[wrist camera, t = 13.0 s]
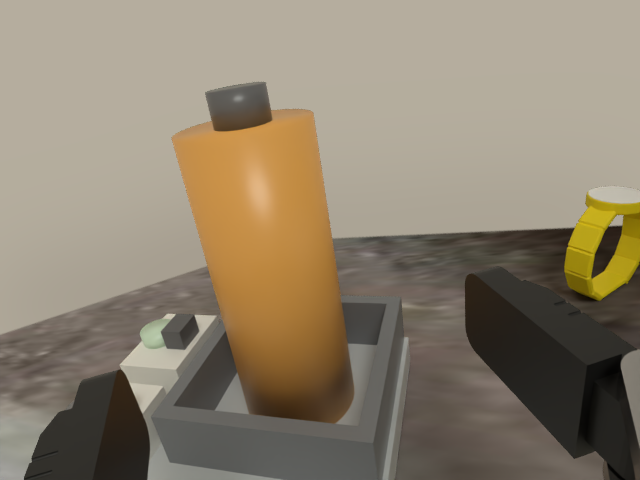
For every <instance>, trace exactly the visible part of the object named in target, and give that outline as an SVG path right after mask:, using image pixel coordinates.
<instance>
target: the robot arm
mask: <svg viewBox="0 0 640 480" xmlns="http://www.w3.org/2000/svg"><path fill="white" fill-rule="evenodd" d="M465 326H466V333H467V337H468V339H469V342H470V344H471V346H472V348H473V349H474V351H475V352H476V353H477V354H478V355H479V356H480V357H481V359H482V360H483V361H484V362H485V363H486V364H487V365H488V366H489V367H490V368H491V369H492V370H493V371H494V373H495V374H496V375H497V376H498V377H499V378H500V379H501V380H502V381H503V382H504V383H505V384H506V386H507V387H508V388H509V389H510V390H511V391H512V392H513V393H514V394H515V395H516V396H517V397H518V398H519V400H520V401H521V402H522V403H523V404H524V405H525V406H526V407H527V408H528V409H529V410H530V411H531V413H532V414H533V415H534V416H535V417H536V418H537V419H538V420H539V421H540V422H541V423H542V424H543V425H544V427H545V428H546V429H547V430H548V431H549V432H550V433H551V434H552V435H553V436H554V437H555V438H556V440H557V441H558V442H559V443H560V444H561V445H562V446H563V447H564V448H565V449H566V450H567V451H568V452H569V454H570V455H571V456H572V457H573V458H574V459H575V458H578V457H581V456H584V455H586V454H589V453H592V452H594V451H596V452H597V453H598V454H599V455H600V456H601V457H602V458H603V459H604V462H603V478H604V480H640V349H639V350H637V349H636V348H634V347H633V346H631V345H630V344H629V343H627V342H626V341H624V340H623V339H621V338H620V337H618V336H617V335H615V334H614V333H612V332H611V331H610V330H608V329H607V328H605V327H604V326H602V325H601V324H599V323H598V322H596V321H595V320H593V319H592V318H590V317H589V316H588V315H586V314H585V313H582V314H581V312H580V310H579V309H577V308H576V307H574V306H573V305H571V304H570V303H566V302H565V300H564V299H563V298H561V297H560V296H558V295H557V294H555V293H554V292H552V291H551V290H550V289H548V288H546V287H543V286H540V285H537V284H534V283H532V282H529V281H526V280H524V281H520V280H519V279H518V278H516V277H515V276H513V275H512V274H511V273H509V272H508V271H506V270H505V269H504V268H502V267H499V266H497V267H493V268H489V269H486V270H482V271H478V272H475V273H471V274H469V275H467V277H466V280H465ZM149 457H150V439H149V433H148V428H147V424H146V421H145V419H144V417H143V414H142V412H141V410H140V407H139V405H138V402H137V400H136V398H135V395H134V393H133V391H132V388H131V386H130V384H129V381H128V379H127V377H126V375H125V373H124V372H123V371H122V370H116V371H113V372H109V373H105V374H102V375H98V376H95V377H91V378H87V379H84V380H82V381H81V383H80V385H79V388H78V391H77V395H76V398H75V401H74V404H73V407H72V408H71V409H68V410H64V411H61V412H59V413H58V414H57V415H56V416H55V417H54V419H53V420H52V421H51V422H50V424H49V425H48V426H47V427H46V429H45V430H44V431H43V432H42V434H41V435H40V437H39V440H38V442H37V445H36V448H35V450H34V453H33V456H32V458H31V459H32V463H29V466H28V469H27V471H26V474H25V476H24V480H147V478H148V467H149Z"/></svg>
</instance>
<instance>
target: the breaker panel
mask: <svg viewBox="0 0 640 480" xmlns="http://www.w3.org/2000/svg"><path fill="white" fill-rule="evenodd" d="M341 301H342V308H343V315H344V321H345V328H346V335H347V341H348V348H349V355H350V362H351V368H352V375H353V382H354V399H353V401H352V404H351V406H350V408H349V410H348V411H347V412H346V414H345V415H344V416H343V417H342V418H341V419H340V420H339V421H338V422H336V423H335V424H333V423H324V422H315V421H306V420H297V419H288V418H278V417H269V416H260V415H251V414H249V412H248V408H247V404H246V401H245V397H244V394H243V390H242V387H241V383H240V380H239V376H238V372H237V369H236V365H235V362H234V358H233V355H232V351H231V348H230V344H229V341H228V337H227V333H226V330H225V326H224V323H223V319H222V320H221V322H220V323H219V321H218V318H217V316H208V315H193V314H166V315H165V317H164V318H163V319H159V320H155V321H153V322H151V323H149V324H147V325H146V326H144V327H143V328H142V330H141V332H140V336H141V339H142V341H141V343H140V344H139V345H138V346H137V347H136V348H135V349H134V350H133V351H132V352H131V353H130V354H129V356H128V357H127V358H126V359H125V360H124V361H123V362H122V363H121V364H120V367H121V369H122V371H123V372H124V373H125V375H126V377H127V379H128V381H129V384H130V386H131V388H132V391H133V393H134V395H135V398H136V400H137V402H138V405H139V407H140V410H141V412H142V414H143V417H144V419H145V421H146V424H147V428H148V433H149V439H150V457H149V467H148V478H147V480H395V475H396V468H397V460H398V452H399V445H400V437H401V429H402V421H403V414H404V406H405V398H406V391H407V383H408V375H409V368H410V350H409V338H404V328H403V316H402V304H401V297H387V296H344V295H341ZM74 401H75V400H74ZM74 401H73V402H72V403H71V404H70V405H69V406H68V407H67V408H66V410H68V409H71V408H72V407H73V404H74Z"/></svg>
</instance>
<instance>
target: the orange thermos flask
mask: <svg viewBox="0 0 640 480" xmlns="http://www.w3.org/2000/svg"><path fill="white" fill-rule="evenodd" d="M205 95H206V99H207V103H208V107H209V111H210V115H211V120H212V121H210V122H206V123H203V124H199V125H196V126H193V127H190V128H187V129H185V130H183V131H180V132H178V133H176V134H175V135H174V136H173V137H172V141H173V145H174V149H175V152H176V156H177V159H178V163H179V166H180V170H181V173H182V177H183V181H184V184H185V188H186V191H187V195H188V198H189V202H190V206H191V209H192V213H193V216H194V220H195V223H196V227H197V230H198V234H199V238H200V241H201V245H202V248H203V252H204V255H205V259H206V262H207V266H208V269H209V273H210V277H211V280H212V284H213V287H214V291H215V294H216V298H217V301H218V305H219V309H220V312H221V316H222V319H223V323H224V326H225V330H226V333H227V337H228V341H229V344H230V348H231V351H232V355H233V358H234V362H235V365H236V369H237V372H238V376H239V380H240V383H241V387H242V390H243V394H244V397H245V401H246V404H247V408H248V412H249V414H251V415H260V416H269V417H278V418H288V419H297V420H306V421H315V422H324V423H333V424H335V423H336V422H338V421H339V420H340V419H341V418H342V417H343V416H344V415H345V414H346V412H347V411H348V410H349V408H350V406H351V404H352V401H353V399H354V382H353V375H352V368H351V362H350V355H349V348H348V341H347V335H346V328H345V321H344V315H343V308H342V301H341V295H340V288H339V281H338V275H337V268H336V261H335V255H334V248H333V241H332V235H331V228H330V221H329V215H328V208H327V201H326V194H325V188H324V181H323V176H322V168H321V161H320V155H319V148H318V141H317V134H316V128H315V121H314V115H313V112H312V111H310V110H303V109H282V110H271V108H270V103H269V98H268V92H267V87H266V83H265V82H254V83H246V84H239V85H233V86H228V87H223V88H218V89H214V90H210V91H207V92H205Z"/></svg>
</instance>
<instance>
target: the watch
mask: <svg viewBox="0 0 640 480" xmlns="http://www.w3.org/2000/svg"><path fill="white" fill-rule="evenodd" d="M585 204H586V205H587V207H588V209H587V210H586V211H585V213H584V214H583V215H582V217H581V218H580V219H579V223H577V224H576V226H575V229H574V231H573V234H572V236H571V238H570V241H569V243H568V246H569V247H567V251H566V258H565V265H564V268H565V270H564V271H565V275H566V279H567V283H568V286H569V287H570V288H571V289H573V290H574V291H576V292H578V293H580V294H582V295H585V296H587V297H590V298H592V299H595V300H597V301H600V300H601V299H603V298H604V297H606V296H607V295H608V294H610V293H611V292H613V291H614V290H616V289H617V288H619V287H620V286H622V285H623V284H624V283H626V284H627V283H628V281H629V280H630V278H631V277H632V275H633V274H634V272H635V270H636V269H637V267H638V265H639V262H640V190H638V189H634V188H629V187H621V186H603V187H597V188H594V189H591V190H590V191H588V192H587V195H586V203H585ZM616 215H624V216H623V226H622V235H621V237H620V240H619V243H618V246H617V248H616V251H615V255H614V256H613V257H612V259H611V261H610V262H609V264H608V266H607V267H606V269H605V270H604V272H602V273H601V274H599V275H598V276H596V277H594V278H593V279H592V278H591V274H592V268H593V263H594V257H595V255H594V254H595V253H596V251H597V248H598V246H599V244H600V241H601V239H602V237H603V234H604V232H605V230H606V229H607V227H608V226H609V225H610V223H611V222H612V221H613V219H614V218H615V217H616Z"/></svg>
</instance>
